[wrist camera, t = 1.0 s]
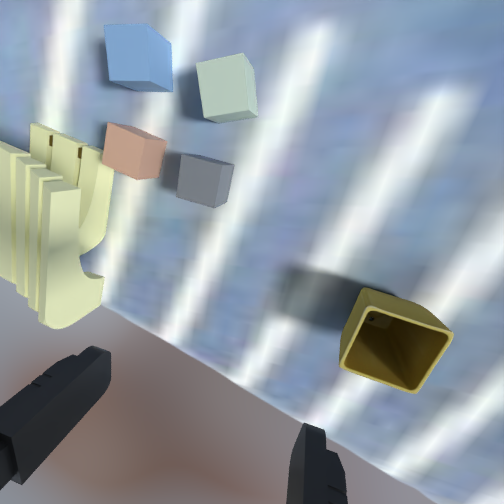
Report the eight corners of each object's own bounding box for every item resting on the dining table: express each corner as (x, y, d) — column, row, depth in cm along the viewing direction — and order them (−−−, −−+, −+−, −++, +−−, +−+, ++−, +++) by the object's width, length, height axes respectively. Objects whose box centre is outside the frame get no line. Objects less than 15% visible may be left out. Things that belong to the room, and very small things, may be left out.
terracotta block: (134, 127, 35) (107, 121, 31) (167, 141, 35) (145, 138, 30) (127, 163, 37) (101, 163, 33) (159, 177, 37) (136, 179, 32)
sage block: (213, 77, 31) (195, 63, 27) (254, 69, 30) (243, 52, 25) (219, 123, 33) (203, 117, 28) (258, 117, 32) (248, 110, 27)
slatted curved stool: (-7, 202, 45) (-192, 227, 28) (-12, 102, 39) (-250, 60, 22) (147, 272, 43) (43, 343, 26) (169, 178, 36) (50, 192, 20)
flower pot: (332, 323, 38) (337, 368, 30) (354, 271, 35) (367, 305, 27) (393, 343, 37) (416, 396, 29) (422, 291, 34) (457, 333, 26)
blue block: (134, 44, 32) (103, 24, 27) (171, 43, 31) (146, 23, 26) (137, 91, 34) (109, 80, 29) (173, 92, 33) (150, 81, 28)
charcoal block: (199, 155, 35) (181, 154, 30) (234, 164, 34) (222, 165, 29) (193, 192, 36) (176, 196, 32) (227, 202, 36) (214, 208, 31)
